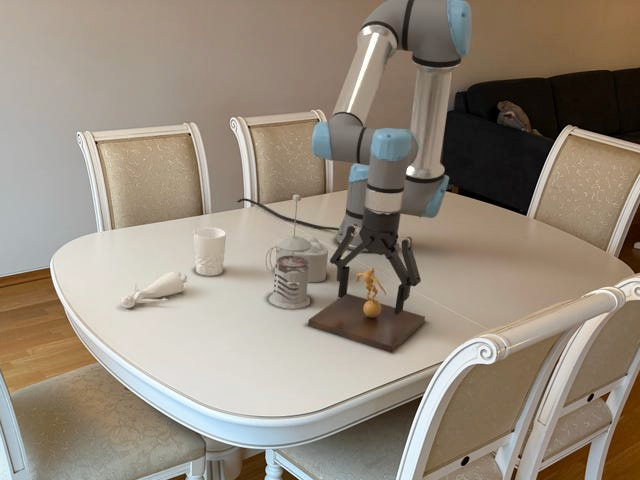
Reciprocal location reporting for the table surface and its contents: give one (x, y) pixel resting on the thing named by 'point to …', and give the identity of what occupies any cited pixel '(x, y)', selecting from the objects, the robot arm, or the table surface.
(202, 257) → the white cup
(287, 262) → the french press
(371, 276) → the figurine
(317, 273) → the lumpy-topped squat cylinder
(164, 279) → the woman figurine
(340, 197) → the table surface
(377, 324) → the walnut board
